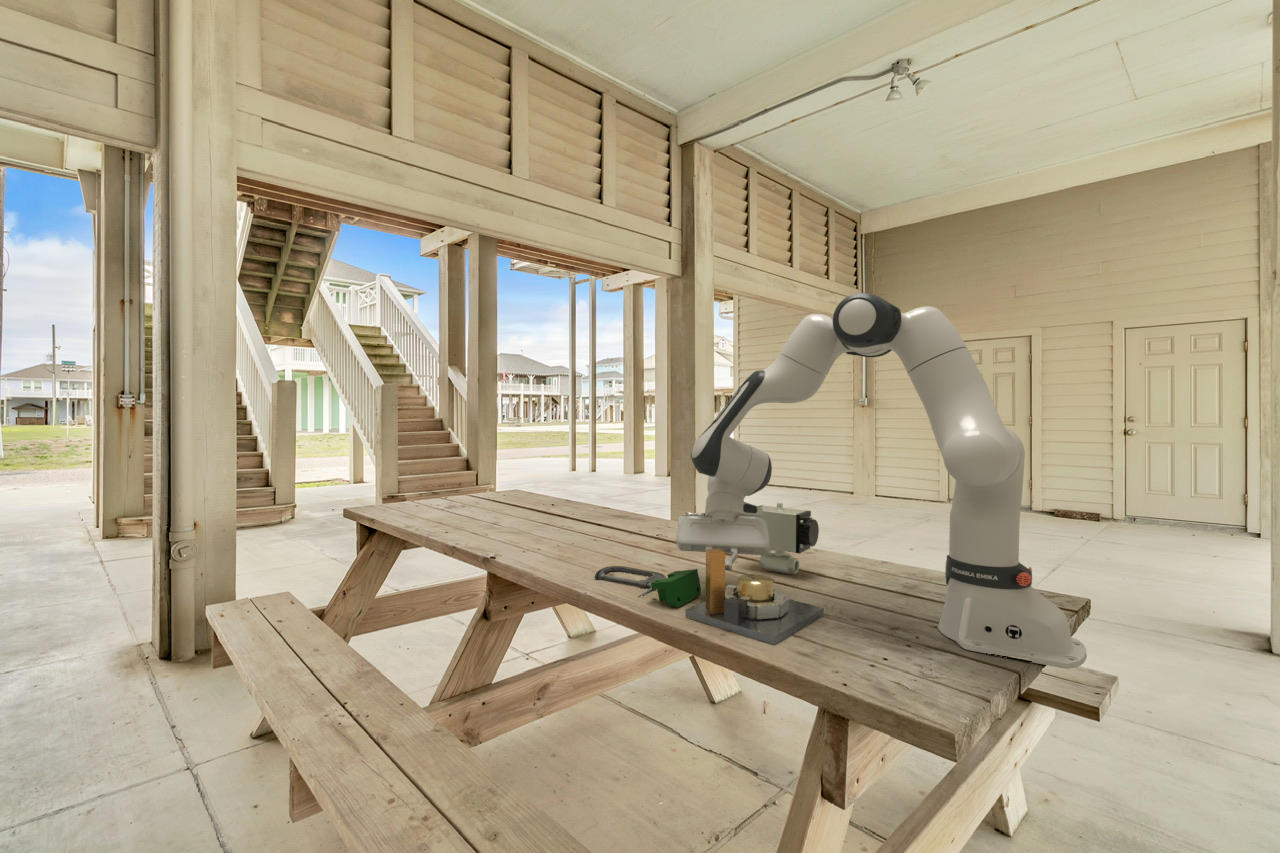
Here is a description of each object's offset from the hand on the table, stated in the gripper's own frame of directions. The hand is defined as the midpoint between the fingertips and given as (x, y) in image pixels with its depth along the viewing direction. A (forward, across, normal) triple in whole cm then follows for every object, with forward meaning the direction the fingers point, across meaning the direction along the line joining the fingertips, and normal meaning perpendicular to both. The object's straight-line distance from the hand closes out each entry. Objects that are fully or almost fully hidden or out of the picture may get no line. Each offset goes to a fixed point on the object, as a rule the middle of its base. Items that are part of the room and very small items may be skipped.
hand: (720, 568), depth 122 cm
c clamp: (-3, -24, +16) cm, 28 cm away
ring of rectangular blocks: (+8, +6, +1) cm, 10 cm away
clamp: (+4, -10, +7) cm, 13 cm away
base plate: (+9, +7, +2) cm, 12 cm away
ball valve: (-15, +13, +26) cm, 33 cm away
